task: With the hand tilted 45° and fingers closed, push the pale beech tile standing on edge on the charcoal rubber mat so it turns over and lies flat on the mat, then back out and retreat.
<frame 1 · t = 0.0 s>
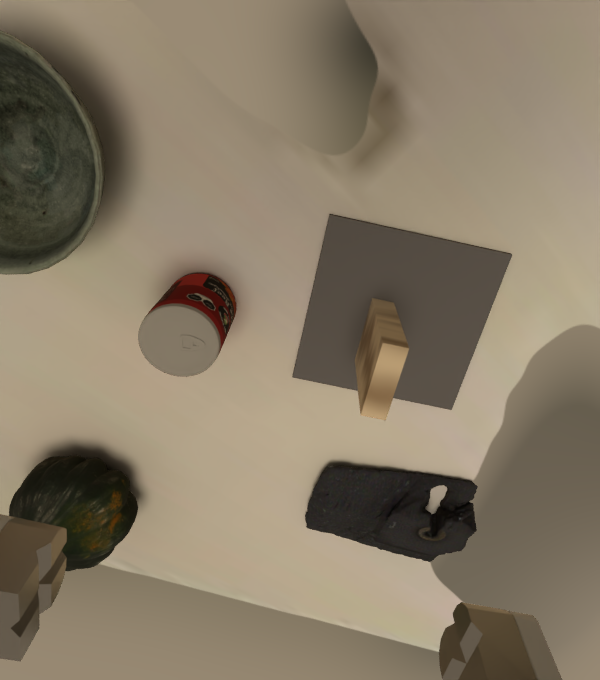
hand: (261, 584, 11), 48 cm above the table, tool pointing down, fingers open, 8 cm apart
bowl: (39, 149, 54), on the table
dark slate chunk: (388, 503, 72), on the table
canned food: (203, 302, 60), on the table
squash: (91, 481, 72), on the table
beech tile: (373, 332, 60), resting on rubber mat
rubber mat: (394, 318, 59), on the table
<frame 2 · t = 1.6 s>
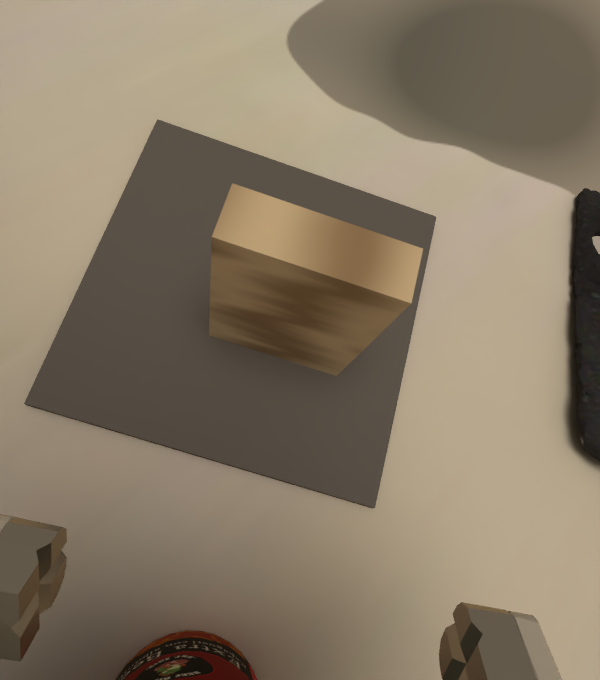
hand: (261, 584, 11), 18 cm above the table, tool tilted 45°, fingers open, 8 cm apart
beech tile: (279, 337, 31), resting on rubber mat
rubber mat: (256, 300, 32), on the table
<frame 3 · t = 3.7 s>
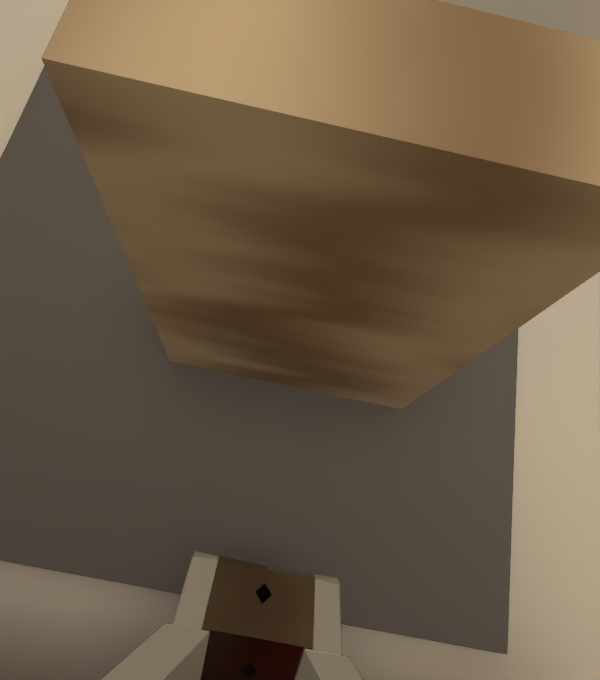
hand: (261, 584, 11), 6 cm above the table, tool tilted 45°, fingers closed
beech tile: (293, 351, 18), resting on rubber mat
rubber mat: (248, 292, 19), on the table
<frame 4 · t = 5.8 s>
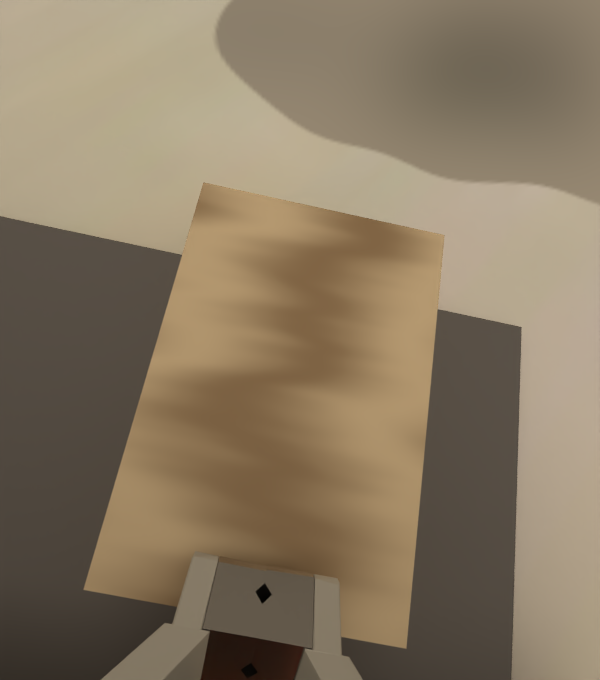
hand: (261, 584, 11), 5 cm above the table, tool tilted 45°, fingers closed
beech tile: (246, 611, 14), point 2 cm above the table, tilted 90°, touching rubber mat
rubber mat: (183, 569, 15), on the table
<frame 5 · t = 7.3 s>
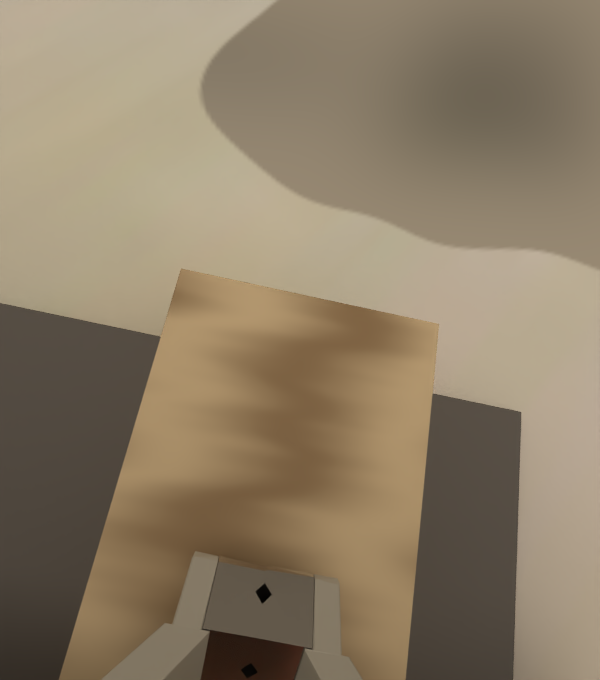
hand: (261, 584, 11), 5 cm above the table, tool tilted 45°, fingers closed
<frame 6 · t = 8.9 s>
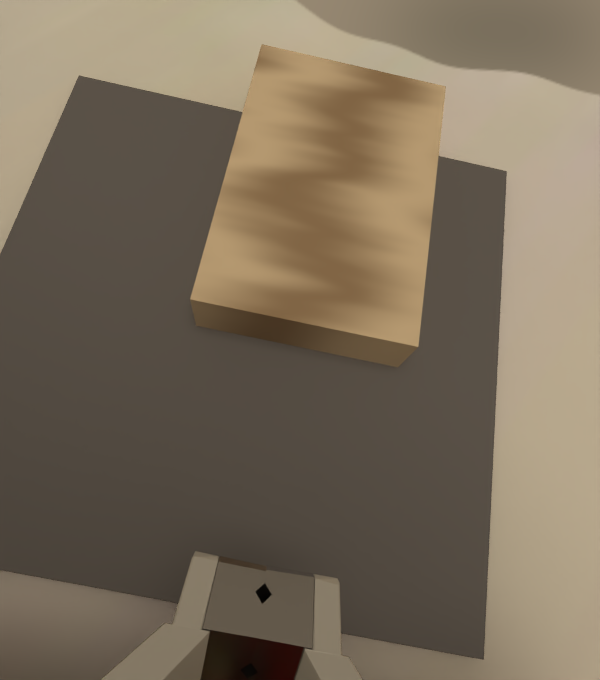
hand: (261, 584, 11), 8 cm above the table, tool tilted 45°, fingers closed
beech tile: (301, 335, 19), point 2 cm above the table, tilted 90°, touching rubber mat
rubber mat: (250, 326, 21), on the table
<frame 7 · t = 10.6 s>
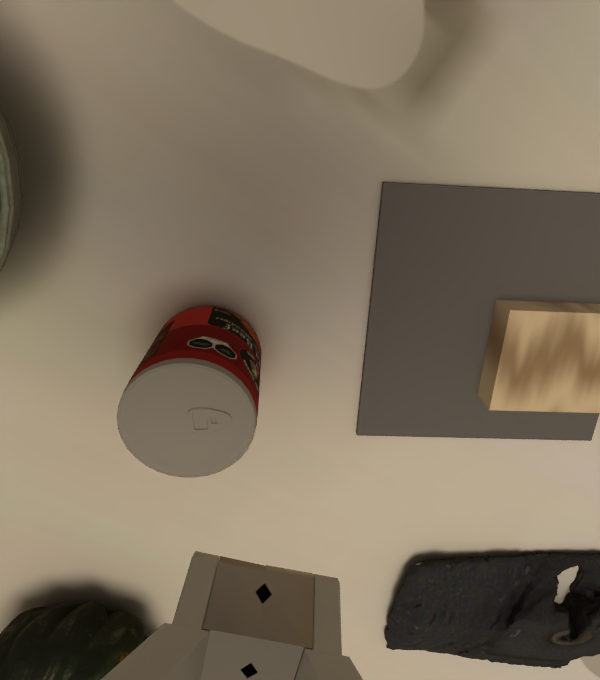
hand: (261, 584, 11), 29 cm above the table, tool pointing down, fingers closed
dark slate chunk: (496, 597, 51), on the table
canned food: (210, 349, 40), on the table
squash: (88, 630, 50), on the table
beech tile: (492, 355, 39), point 2 cm above the table, tilted 90°, touching rubber mat
rubber mat: (496, 323, 40), on the table
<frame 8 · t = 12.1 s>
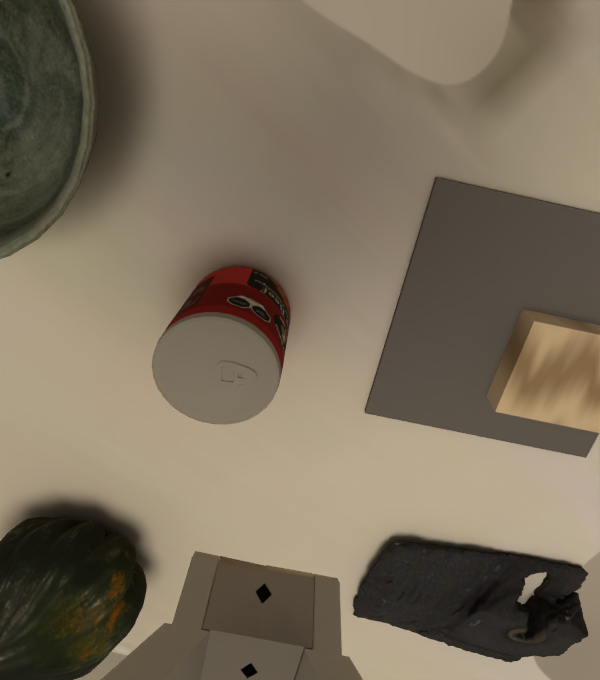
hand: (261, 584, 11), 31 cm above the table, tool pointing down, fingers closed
bowl: (0, 79, 36), on the table
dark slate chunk: (464, 587, 54), on the table
canned food: (242, 308, 42), on the table
squash: (84, 547, 54), on the table
beech tile: (508, 360, 41), point 2 cm above the table, tilted 90°, touching rubber mat
rubber mat: (518, 331, 41), on the table
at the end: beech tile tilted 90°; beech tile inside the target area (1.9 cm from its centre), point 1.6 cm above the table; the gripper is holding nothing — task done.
